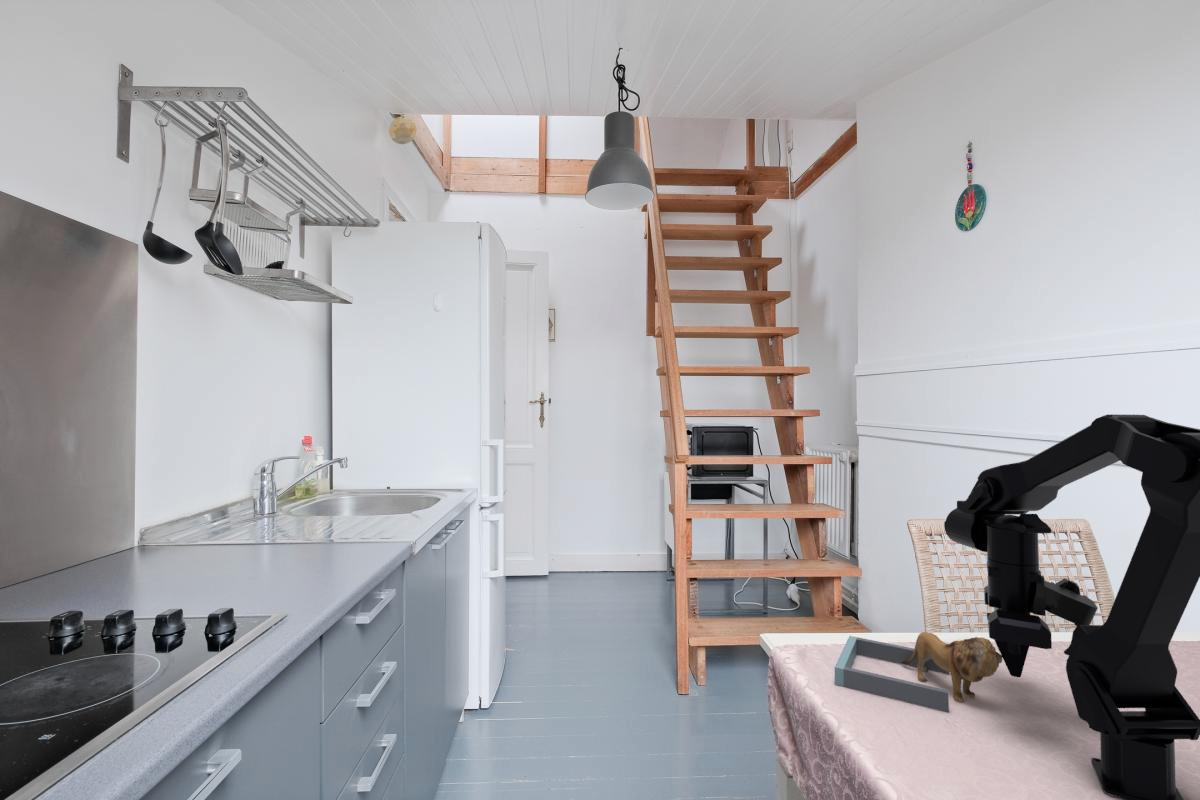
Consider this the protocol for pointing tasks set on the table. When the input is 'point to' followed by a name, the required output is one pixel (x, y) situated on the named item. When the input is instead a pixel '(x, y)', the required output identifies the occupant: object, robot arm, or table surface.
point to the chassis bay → (886, 684)
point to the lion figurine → (957, 660)
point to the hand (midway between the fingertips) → (1015, 675)
